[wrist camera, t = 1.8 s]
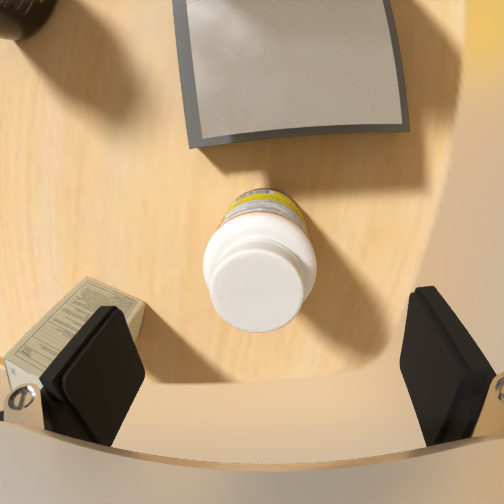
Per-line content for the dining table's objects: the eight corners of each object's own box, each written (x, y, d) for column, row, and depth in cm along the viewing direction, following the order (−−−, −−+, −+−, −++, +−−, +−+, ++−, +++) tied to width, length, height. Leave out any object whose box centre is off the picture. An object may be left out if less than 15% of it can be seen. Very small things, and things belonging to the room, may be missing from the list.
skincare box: (82, 312, 27) (9, 396, 16) (86, 273, 26) (-1, 354, 14) (141, 339, 28) (83, 440, 16) (149, 300, 26) (81, 404, 15)
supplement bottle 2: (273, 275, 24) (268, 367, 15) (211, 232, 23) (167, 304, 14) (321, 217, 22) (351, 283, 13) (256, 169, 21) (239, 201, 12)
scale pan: (390, 124, 17) (402, 123, 15) (210, 137, 19) (202, 138, 17) (369, -7, 14) (377, -19, 12) (193, 5, 15) (185, -6, 14)
